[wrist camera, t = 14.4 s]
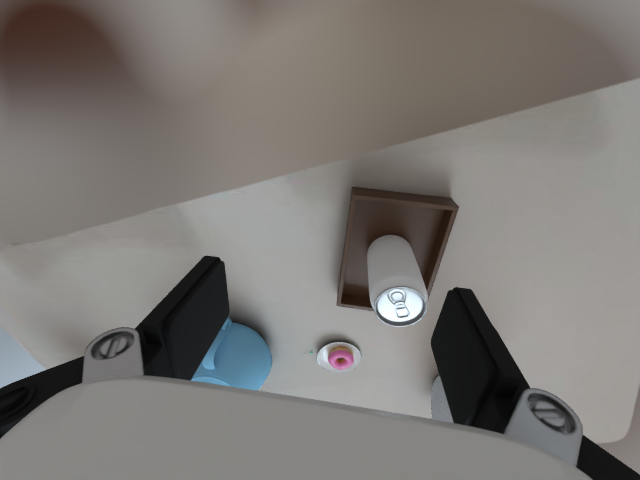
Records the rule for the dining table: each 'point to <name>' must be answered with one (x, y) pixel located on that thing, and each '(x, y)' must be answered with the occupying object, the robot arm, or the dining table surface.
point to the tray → (392, 219)
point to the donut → (339, 357)
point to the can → (395, 282)
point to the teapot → (236, 358)
